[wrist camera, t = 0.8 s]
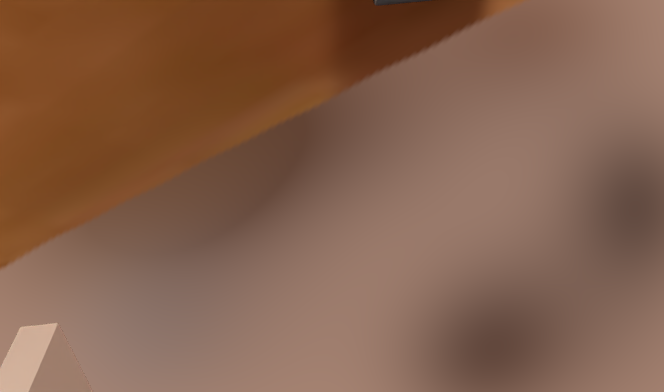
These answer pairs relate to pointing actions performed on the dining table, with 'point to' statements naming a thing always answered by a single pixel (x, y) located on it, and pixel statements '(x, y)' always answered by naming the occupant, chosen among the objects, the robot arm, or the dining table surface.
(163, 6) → the dining table surface
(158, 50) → the dining table surface
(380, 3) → the box
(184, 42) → the dining table surface
